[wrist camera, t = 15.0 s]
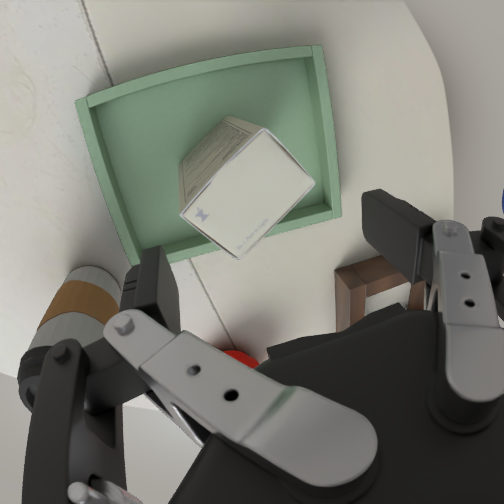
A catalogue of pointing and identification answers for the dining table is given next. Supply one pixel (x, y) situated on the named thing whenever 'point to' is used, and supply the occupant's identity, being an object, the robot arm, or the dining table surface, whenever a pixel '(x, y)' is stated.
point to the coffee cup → (70, 321)
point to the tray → (196, 128)
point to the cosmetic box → (239, 185)
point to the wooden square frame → (368, 288)
